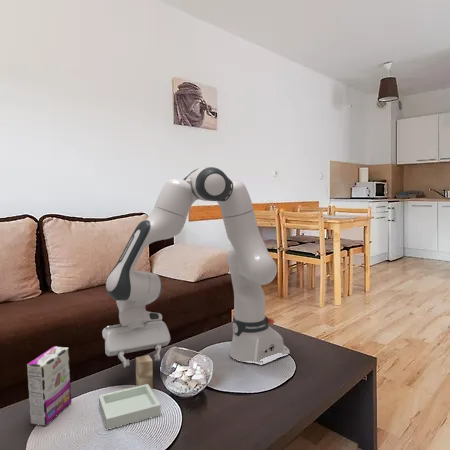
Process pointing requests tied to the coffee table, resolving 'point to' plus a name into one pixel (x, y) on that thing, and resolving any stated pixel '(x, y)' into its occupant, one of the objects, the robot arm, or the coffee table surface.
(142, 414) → the tray
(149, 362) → the maple block
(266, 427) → the coffee table surface
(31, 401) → the candy bar box
